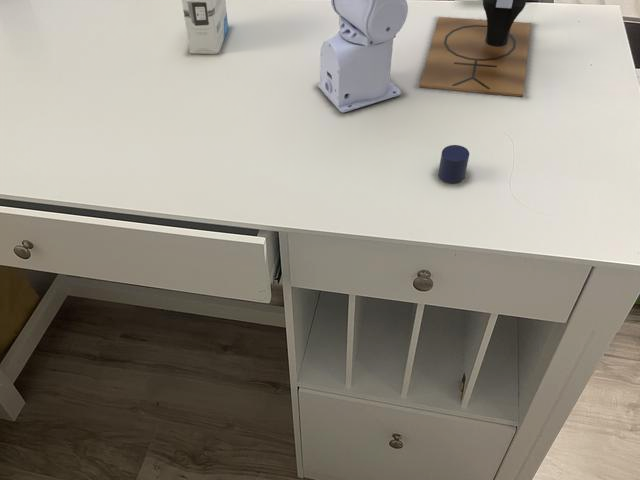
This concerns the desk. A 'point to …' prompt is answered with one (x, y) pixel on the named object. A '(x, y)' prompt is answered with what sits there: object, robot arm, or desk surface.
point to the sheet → (476, 58)
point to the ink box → (205, 25)
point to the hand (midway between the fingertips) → (496, 32)
